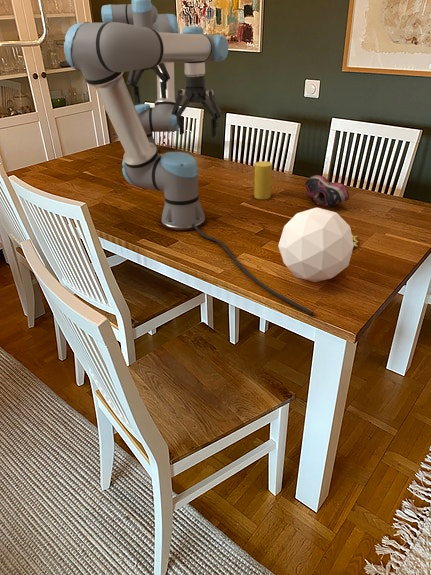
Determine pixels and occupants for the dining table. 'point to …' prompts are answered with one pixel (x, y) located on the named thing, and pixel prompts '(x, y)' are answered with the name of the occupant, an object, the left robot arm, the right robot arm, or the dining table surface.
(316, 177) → the athletic shoe
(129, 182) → the right robot arm
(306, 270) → the sphere
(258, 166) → the can
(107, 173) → the dining table surface
